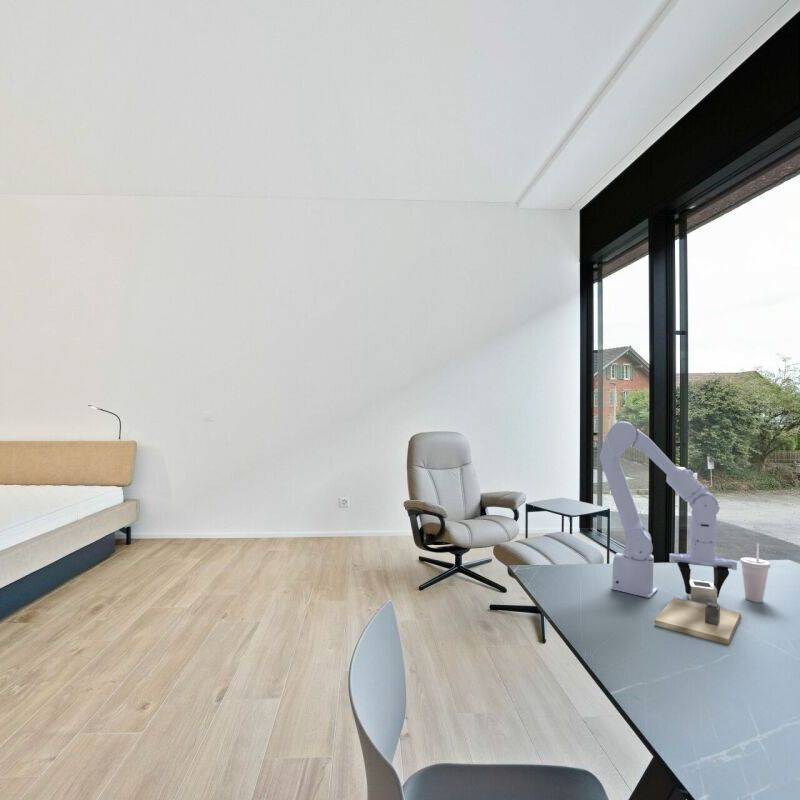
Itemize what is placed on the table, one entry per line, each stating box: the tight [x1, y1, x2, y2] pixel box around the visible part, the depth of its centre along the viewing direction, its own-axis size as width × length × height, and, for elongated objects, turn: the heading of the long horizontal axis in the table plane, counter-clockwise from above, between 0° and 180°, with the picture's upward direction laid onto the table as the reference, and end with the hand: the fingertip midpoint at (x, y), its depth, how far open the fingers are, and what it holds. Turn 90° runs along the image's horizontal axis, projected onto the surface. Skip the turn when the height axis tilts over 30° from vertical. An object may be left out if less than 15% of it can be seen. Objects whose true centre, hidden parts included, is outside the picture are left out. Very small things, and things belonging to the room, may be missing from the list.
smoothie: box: [739, 543, 771, 603], centre depth 135 cm, size 6×6×14 cm
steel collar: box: [686, 579, 718, 605], centre depth 133 cm, size 6×6×4 cm
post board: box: [654, 596, 742, 646], centre depth 120 cm, size 14×18×5 cm
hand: (701, 594), depth 133 cm, fingers closed on steel collar, 6 cm apart
